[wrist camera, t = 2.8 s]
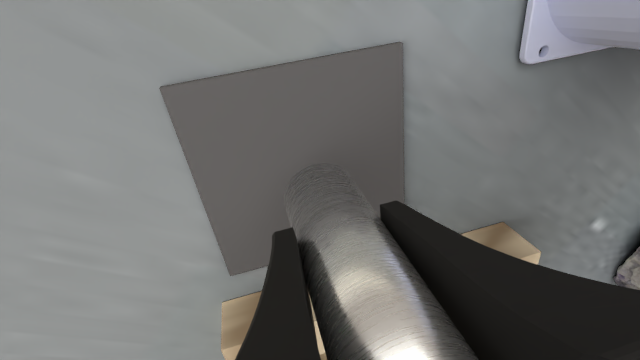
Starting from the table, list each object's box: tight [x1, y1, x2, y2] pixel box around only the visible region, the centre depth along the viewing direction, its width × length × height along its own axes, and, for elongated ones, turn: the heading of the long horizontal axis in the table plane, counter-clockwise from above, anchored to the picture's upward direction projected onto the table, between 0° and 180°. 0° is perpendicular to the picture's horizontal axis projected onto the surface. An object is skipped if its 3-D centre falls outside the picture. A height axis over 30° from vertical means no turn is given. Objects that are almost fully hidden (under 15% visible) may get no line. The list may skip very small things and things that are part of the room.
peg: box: [284, 163, 479, 360], centre depth 9 cm, size 3×3×10 cm
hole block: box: [221, 222, 541, 360], centre depth 21 cm, size 18×10×3 cm, turn 98°
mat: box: [159, 42, 404, 276], centre depth 16 cm, size 10×10×1 cm
